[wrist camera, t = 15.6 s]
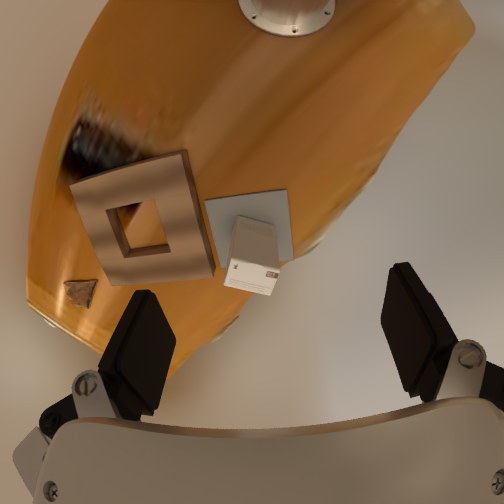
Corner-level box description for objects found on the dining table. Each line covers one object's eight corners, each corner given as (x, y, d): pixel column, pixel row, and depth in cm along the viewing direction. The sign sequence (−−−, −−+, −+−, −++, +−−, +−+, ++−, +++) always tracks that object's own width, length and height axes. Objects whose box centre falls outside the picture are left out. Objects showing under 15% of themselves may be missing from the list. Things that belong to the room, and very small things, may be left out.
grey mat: (205, 199, 40) (204, 201, 40) (286, 188, 39) (286, 190, 39) (221, 266, 47) (221, 268, 46) (293, 258, 45) (293, 260, 45)
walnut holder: (79, 179, 39) (69, 185, 36) (186, 149, 36) (180, 154, 34) (117, 276, 49) (111, 286, 47) (215, 267, 47) (213, 277, 44)
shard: (99, 277, 50) (95, 282, 49) (113, 305, 54) (110, 311, 53) (64, 278, 51) (60, 283, 50) (78, 304, 55) (75, 309, 54)
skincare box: (230, 238, 43) (220, 288, 33) (237, 212, 41) (228, 257, 31) (268, 247, 44) (269, 299, 34) (277, 223, 42) (281, 270, 31)
